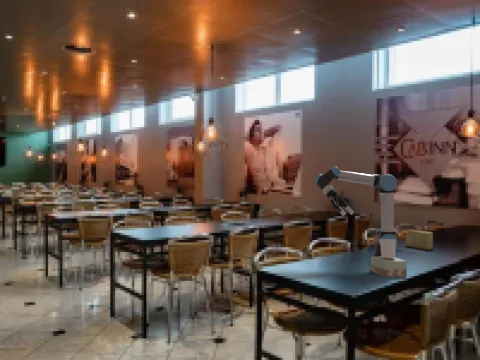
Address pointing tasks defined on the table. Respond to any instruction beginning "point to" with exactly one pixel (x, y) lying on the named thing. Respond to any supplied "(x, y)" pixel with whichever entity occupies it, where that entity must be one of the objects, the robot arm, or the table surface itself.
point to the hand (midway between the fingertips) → (348, 214)
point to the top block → (388, 263)
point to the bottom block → (389, 272)
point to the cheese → (419, 239)
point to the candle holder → (388, 248)
